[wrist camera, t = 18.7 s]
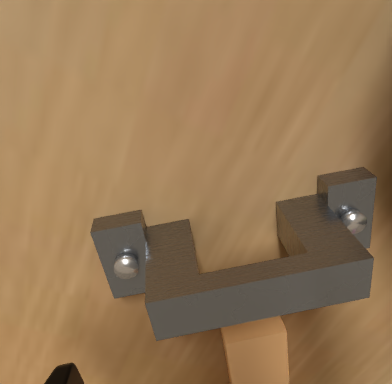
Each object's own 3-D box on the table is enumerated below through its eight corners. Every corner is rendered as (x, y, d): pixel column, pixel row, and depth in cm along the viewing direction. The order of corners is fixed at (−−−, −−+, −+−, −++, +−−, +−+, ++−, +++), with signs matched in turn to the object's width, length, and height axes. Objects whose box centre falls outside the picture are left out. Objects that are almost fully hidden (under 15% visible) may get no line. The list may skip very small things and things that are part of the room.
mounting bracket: (93, 219, 21) (74, 295, 15) (363, 167, 21) (437, 223, 16) (116, 282, 23) (105, 369, 18) (358, 234, 24) (420, 304, 18)
